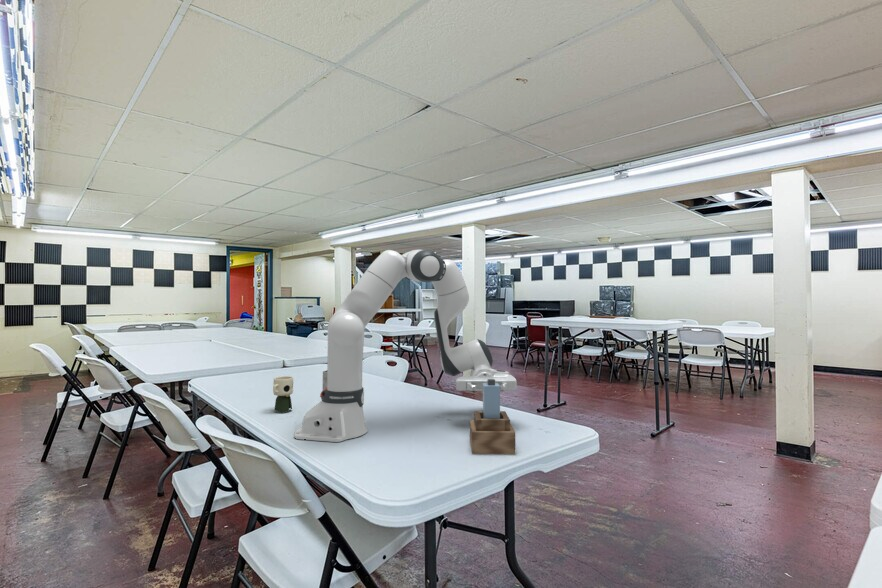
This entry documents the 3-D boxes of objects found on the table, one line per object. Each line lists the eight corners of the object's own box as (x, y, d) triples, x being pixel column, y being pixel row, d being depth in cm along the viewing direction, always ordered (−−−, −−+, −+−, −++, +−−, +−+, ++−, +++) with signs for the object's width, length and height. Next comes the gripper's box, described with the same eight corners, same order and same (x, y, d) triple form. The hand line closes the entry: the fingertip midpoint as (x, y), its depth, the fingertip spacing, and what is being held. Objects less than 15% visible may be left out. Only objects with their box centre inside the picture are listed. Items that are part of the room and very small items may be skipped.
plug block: (484, 428, 118) (484, 380, 118) (482, 423, 122) (482, 378, 122) (500, 428, 118) (499, 381, 118) (498, 423, 122) (497, 378, 122)
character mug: (281, 416, 152) (281, 380, 152) (265, 414, 154) (265, 379, 154) (300, 408, 162) (300, 375, 162) (284, 407, 164) (285, 374, 165)
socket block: (472, 454, 114) (472, 421, 114) (469, 439, 126) (469, 410, 126) (515, 454, 114) (515, 421, 114) (508, 439, 126) (508, 410, 126)
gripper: (454, 371, 145) (455, 378, 131) (512, 371, 144) (519, 378, 131) (454, 389, 145) (455, 398, 131) (512, 389, 144) (519, 398, 130)
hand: (487, 388), depth 131 cm, fingers open, 8 cm apart
